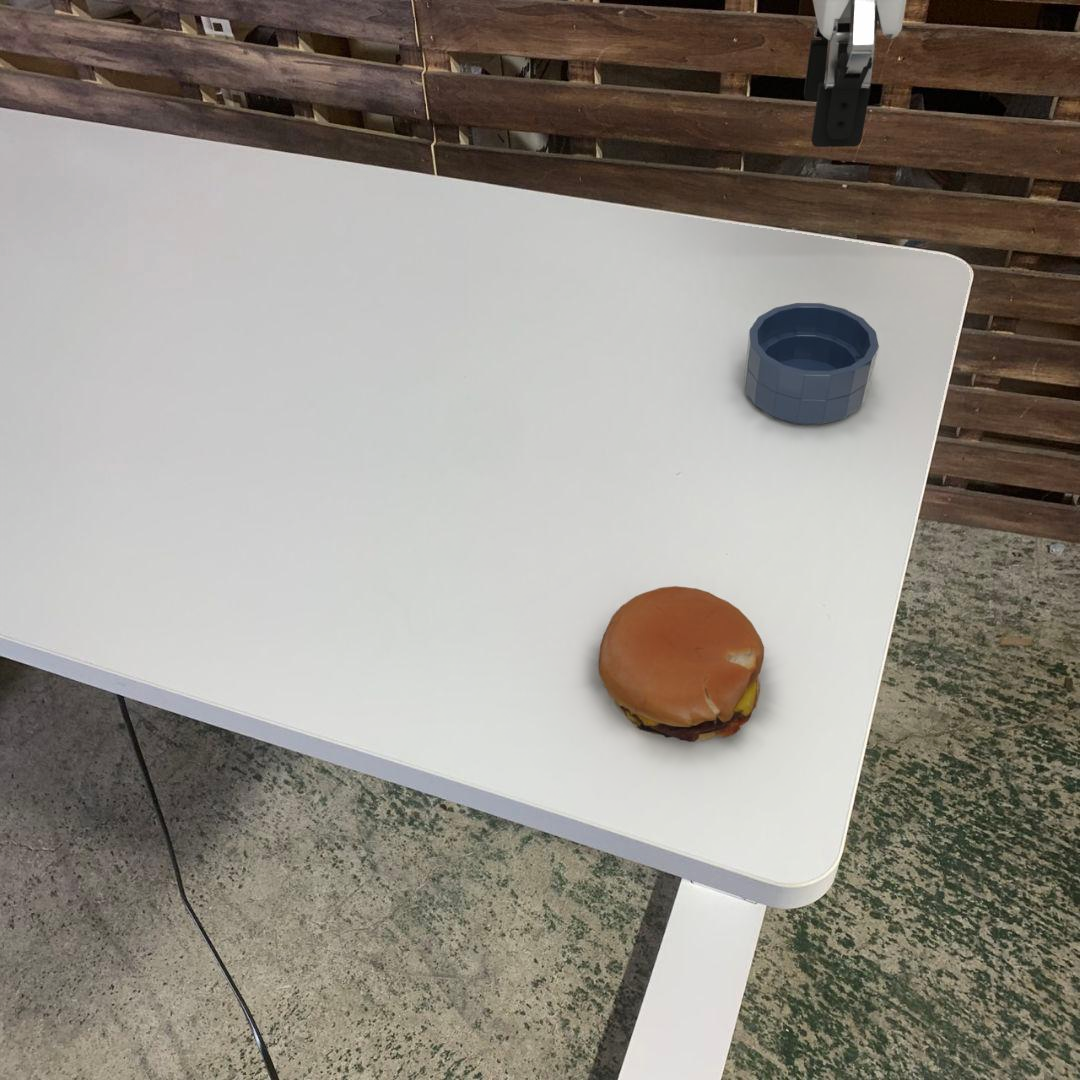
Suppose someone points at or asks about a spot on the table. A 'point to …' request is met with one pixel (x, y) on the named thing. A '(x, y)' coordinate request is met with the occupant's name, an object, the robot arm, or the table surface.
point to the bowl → (810, 362)
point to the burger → (682, 663)
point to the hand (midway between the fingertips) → (830, 119)
